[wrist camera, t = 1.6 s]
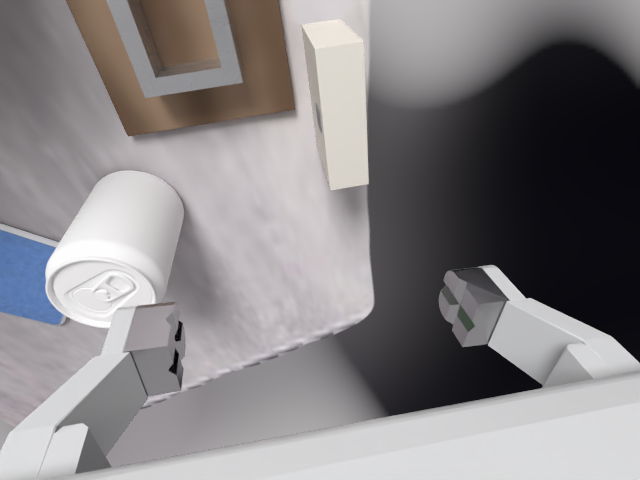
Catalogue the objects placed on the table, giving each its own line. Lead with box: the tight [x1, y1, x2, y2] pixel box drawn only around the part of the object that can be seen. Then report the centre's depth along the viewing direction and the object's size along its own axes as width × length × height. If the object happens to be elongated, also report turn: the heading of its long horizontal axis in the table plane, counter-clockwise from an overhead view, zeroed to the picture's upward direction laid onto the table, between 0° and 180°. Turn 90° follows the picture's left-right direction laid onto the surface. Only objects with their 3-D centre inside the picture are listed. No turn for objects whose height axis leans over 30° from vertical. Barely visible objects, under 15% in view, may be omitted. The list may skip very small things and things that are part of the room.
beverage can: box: [45, 170, 184, 328], centre depth 32 cm, size 8×8×12 cm
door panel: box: [302, 19, 369, 191], centre depth 29 cm, size 3×10×8 cm, turn 7°
